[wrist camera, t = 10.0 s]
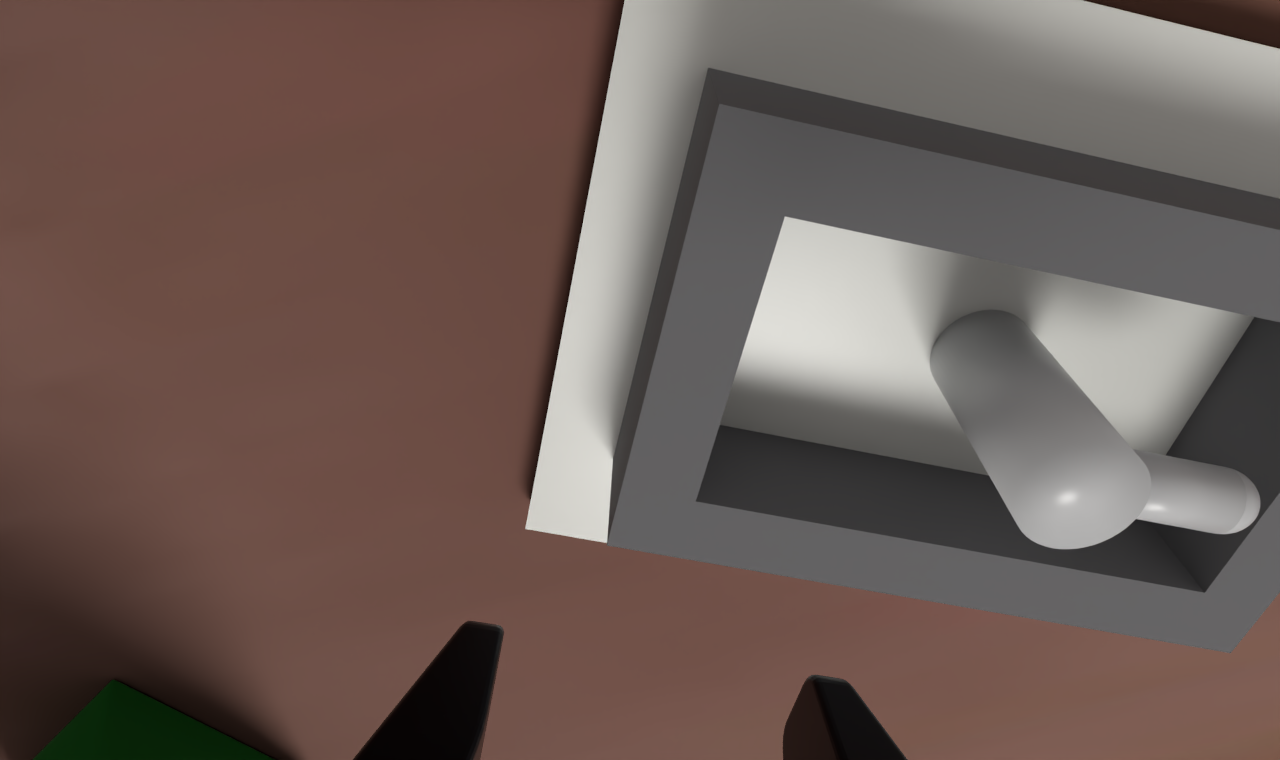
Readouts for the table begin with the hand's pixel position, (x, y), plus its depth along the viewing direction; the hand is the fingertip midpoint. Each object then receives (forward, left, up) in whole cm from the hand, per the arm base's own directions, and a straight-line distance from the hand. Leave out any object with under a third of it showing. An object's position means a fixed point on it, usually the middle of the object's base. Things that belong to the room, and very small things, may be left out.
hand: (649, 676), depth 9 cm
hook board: (+7, 0, -11) cm, 13 cm away
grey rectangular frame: (+7, 0, -10) cm, 12 cm away
